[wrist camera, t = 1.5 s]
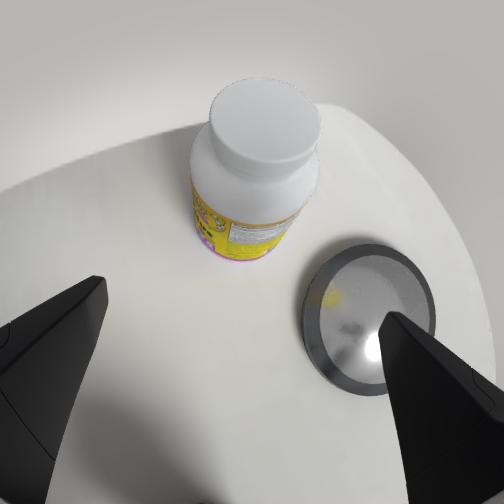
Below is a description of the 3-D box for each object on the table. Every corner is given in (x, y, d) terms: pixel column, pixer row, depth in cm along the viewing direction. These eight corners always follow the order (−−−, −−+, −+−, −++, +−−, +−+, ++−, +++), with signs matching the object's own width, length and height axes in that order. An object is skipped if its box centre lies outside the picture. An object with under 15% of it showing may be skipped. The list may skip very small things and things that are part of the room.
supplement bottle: (195, 185, 25) (188, 62, 12) (276, 183, 26) (325, 68, 13) (197, 268, 23) (183, 186, 11) (286, 263, 24) (360, 185, 11)
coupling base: (380, 420, 21) (387, 423, 20) (268, 334, 22) (272, 333, 21) (447, 305, 25) (455, 304, 23) (356, 219, 26) (363, 213, 24)
